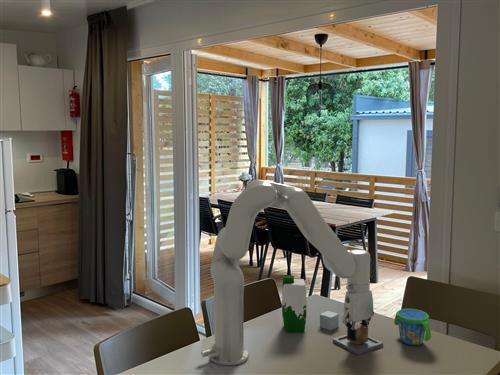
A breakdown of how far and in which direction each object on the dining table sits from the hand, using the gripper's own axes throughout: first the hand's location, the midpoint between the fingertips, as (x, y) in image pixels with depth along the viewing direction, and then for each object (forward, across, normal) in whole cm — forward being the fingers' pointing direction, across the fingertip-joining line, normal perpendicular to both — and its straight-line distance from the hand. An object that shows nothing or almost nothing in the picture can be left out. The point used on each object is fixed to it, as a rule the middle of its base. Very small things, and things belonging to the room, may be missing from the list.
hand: (357, 336), depth 167 cm
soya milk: (+3, -10, +23) cm, 25 cm away
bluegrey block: (+3, +2, +17) cm, 17 cm away
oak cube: (+1, 0, 0) cm, 1 cm away
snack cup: (+3, +17, -9) cm, 19 cm away
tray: (+3, 0, 0) cm, 3 cm away
